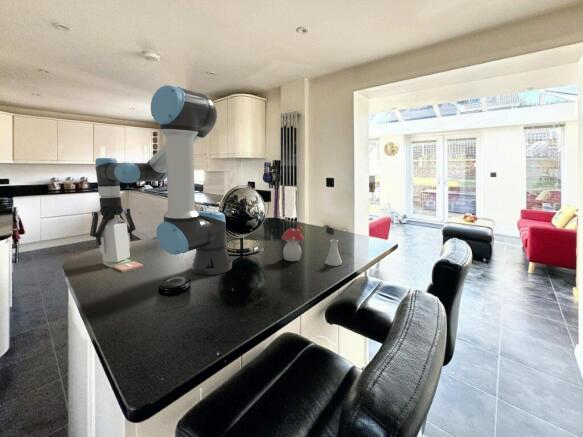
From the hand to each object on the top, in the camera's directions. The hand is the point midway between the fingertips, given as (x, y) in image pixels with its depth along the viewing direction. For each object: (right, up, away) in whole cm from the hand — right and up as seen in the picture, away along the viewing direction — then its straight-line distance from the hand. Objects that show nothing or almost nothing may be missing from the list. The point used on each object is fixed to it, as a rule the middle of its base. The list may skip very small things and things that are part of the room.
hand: (115, 249), depth 124 cm
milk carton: (0, -4, +1) cm, 4 cm away
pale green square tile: (0, -6, +1) cm, 6 cm away
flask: (+91, -6, 0) cm, 92 cm away
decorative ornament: (+74, -5, +5) cm, 75 cm away
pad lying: (+8, -7, -4) cm, 11 cm away
